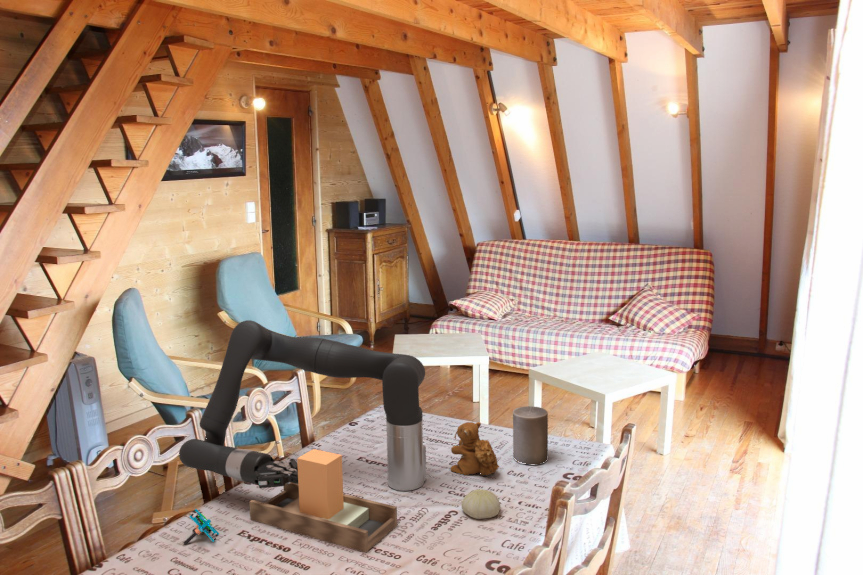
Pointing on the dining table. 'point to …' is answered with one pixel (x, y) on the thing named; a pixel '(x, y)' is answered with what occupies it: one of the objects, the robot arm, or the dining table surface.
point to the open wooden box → (347, 528)
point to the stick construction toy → (201, 527)
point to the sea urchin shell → (481, 504)
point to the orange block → (320, 483)
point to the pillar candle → (530, 435)
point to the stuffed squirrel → (473, 452)
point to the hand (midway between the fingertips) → (306, 479)
